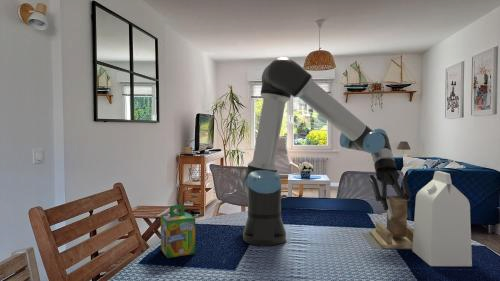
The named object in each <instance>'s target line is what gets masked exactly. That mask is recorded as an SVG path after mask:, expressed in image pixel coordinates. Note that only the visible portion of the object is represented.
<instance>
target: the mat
mask: <svg viewBox="0 0 500 281" xmlns="http://www.w3.org/2000/svg"><path fill="white" fill-rule="evenodd" d="M360 233H361V235H362V237H363V238H364V239H365V241H366V242H367V243H368V244H369V246H370V247H371V249H380V250H383V249H384V250H389V249H390V250H393V249H394V250H410V249H409V248H381V247H380V245H379V244H378V243H377V242H376V241H375V239H374V238H373V237H372V236H371V235H370V232H360Z"/></svg>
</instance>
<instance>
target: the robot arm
mask: <svg viewBox="0 0 500 281" xmlns="http://www.w3.org/2000/svg"><path fill="white" fill-rule="evenodd" d="M260 88H261V90H260V96H261V98H262V99H263V100H262V107H261V111H260V118H259V123H258V126H257V127H258V129H257V135H256V138H255V146H254V152H253V157H252V160H251V161H250V162H248V163H247V168H246V174H245V176H244V178H243V181H242V182H243V183H242V185H243V190H244V193H245V194H246V195H247V218H246V222H245V225H244V228H243V232H242V240H243V241H244V242H245V243H247V244H249V245H254V246H260V247H261V246H262V247H267V246H268V247H269V246H277V245H281V244H283V243H285V242H286V241H287V232H286V229H285V226H284V225H285V224H284V223H283V219H282V179H281V175H280V174H279V173H278V167H277V166H276V163H275V162H276V157H277V152H278V146H279V141H280V137H281V131H282V130H281V129H282V124H283V118H284V113H285V108H286V103H287V102H289V101H290V100H291V96H292V97H293V98H298V99H300V100H301V101H303V103H305V104H306V105H307V106H309V107H310V108H311V109H312V110H314V112H316V113H318V115H319V116H321V117H322V118H323V119H324V120H326V121H327V122H328V123H330V124H331V125H332V126H333V127H334V128H335V129H337V130H338V131H339V132H340V136H339V145H340V147H341V148H345V149H347V150H348V149H349V150H355V151H360V152H365V153H368V154H371V158H372V161H373V162H372V163H373V167H374V171H375V175H373V174H370V175H369V179H368V181H369V182H370V184H371V186H372V190H373V193H374V197H375V200H376V202H380V203H381V205H382V207H383V210H384V211H386V215H387V214H388V218H389V220H392V217H393V213H392V209H391V205H390V201H389V199H387V196H388V195H387V193H388V192H387V189H388V188H387V186H391V187H392V188H393V190H394V191H395V194H396V196H400V197H401V198H403V199H405V200H406V201H407V203H409V202H410V200H411V197H412V195H411V192H410V188H409V183H408V175H407V174H405V175H402V174H400V173H399V171H398V169H397V165H396V162H395V156H394V154H393V151H392V148H391V144H390V139H389V136H388V134H387V132H386V131H385V130H384V129H382V128H376V129H375V128H373V129H372V128H370V127H369V126H368V125H367V124H365V123H364V122H363V121H361V119H359V118H358V117H357V116H356V115H354V113H352V112H351V111H350V110H349V109H347V107H345V106H344V105H342V103H340V102H339V101H338V100H336V98H334V97H333V96H332V95H330V94H329V93H328V92H327V91H326V90H324V89H323V87H322V86H321V85H319V84H318V83H316V82H315V81H314V80H313V75H312V74H310V73H309V72H308V71H307V70H306V69H305V68H303V66H301V65H300V64H299V63H298V62H296V61H294V60H293V59H291V58H289V57H278V58H275V59H274V60H272V61H271V63H269V64H268V65H267V66H266V67H265V68H264V70H263V72H262V75H261V87H260ZM377 180H378V181H379V182H380V183H381V185H380V186H381V190H380V188H379V185H378V181H377ZM399 180H400V183H401V186H400V184H399ZM408 209H409V207H408V204H407V210H408ZM408 215H409V214H407V218H408Z"/></svg>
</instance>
